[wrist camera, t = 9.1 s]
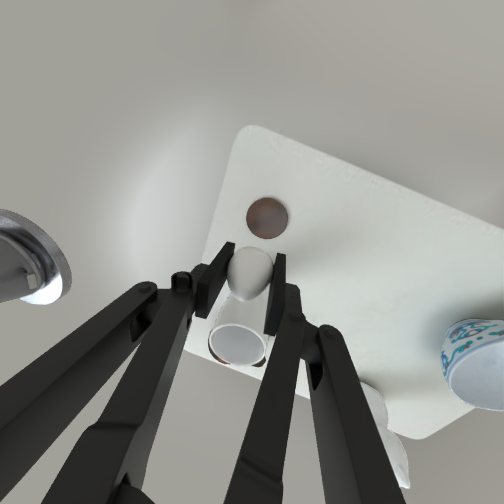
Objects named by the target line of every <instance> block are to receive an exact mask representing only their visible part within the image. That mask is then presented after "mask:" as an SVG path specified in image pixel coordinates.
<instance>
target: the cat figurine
mask: <svg viewBox="0 0 504 504" xmlns="http://www.w3.org/2000/svg"><path fill="white" fill-rule="evenodd" d="M360 383H361V386H362V389H363V391H364V394H365V397H366V399H367V402H368V404H369V407H370V410H371V412H372V415H373V418H374V420H375V423H376V426H377V428H378V431H379V434H380V436H381V439H382V442H383V444H384V447H385V449H386V452H387V455H388V457H389V460H390V463H391V465H392V468H393V471H394V473H395V476H396V479H397V481H398V484H399V487H401V486H402V487H404V488H407V489H408V488H410V480H409V477H408V473H409V469H408V460H407V455H406V452H405V449H404V447H403V445H402V443H401V441H400V440H399V438H398V437H397V436H396V435H395V434H394V433H393V432H392V431H390V430H389V429H387V425H388V413H387V409H386V405H385V403H384V400H383V398H382V396H381V395H380V394H379V392H378V391H377V390H375V389H374V388H372V387H371V386H369V385H367V384H365V383H363V382H360Z"/></svg>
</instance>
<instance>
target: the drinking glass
mask: <svg viewBox="0 0 504 504" xmlns="http://www.w3.org/2000/svg"><path fill="white" fill-rule="evenodd" d="M269 287H270V283H269V285H268V286H267V288H266V289H265V290H264V291H263V292H262V293H261V294H260V295H259V296H257V297H256V298H255V299H253V300H251V301H248V302H242V301H239V300H237V299H236V298H235V297H234V296H233V294H232V293H231V292H230V294H229V296H228V297H227V299H226V301H225V302H224V304H223V306H222V308H221V310H220V312H219V314H218V316H217V318H216V320H215V323H214V326H213V328H212V331H211V334H210V337H209V343H210V347H211V349H212V351H213V352H214V353H215V354H216V355H217V356H218V357H219V358H220V359H222V360H223V361H225V362H227V363H230V364H233V365H237V366H250V365H254V364H256V363H258V362H260V361H261V360H262V359H263V358H264V356H265V354H266V351H267V345H268V338H269V335H266V334H263V331H264V324H265V317H266V309H267V302H268V294H269Z"/></svg>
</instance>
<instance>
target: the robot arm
mask: <svg viewBox="0 0 504 504" xmlns="http://www.w3.org/2000/svg"><path fill="white" fill-rule="evenodd" d="M234 249H235V243H232V242H226V244H225V245H224V246H223V248H222V249H221V250H220V252H219V253H218V254H217V256H216V257H215V258H214V260H213V261H212V262H211V264H210V265H206V264H202V263H201V264H199V265H197V266H196V267H195V268H194V269H193V270H192V271H191V272H190V273H189V272H183V271H181V272H177V273H174V274H173V275H172V276H171V289H157V285H156V284H155V283H153V282H149V281H147V282H141V283H138V284H136V285H134V286H133V287H132V288H130V289H129V290H128V291H126V292H125V293H124V294H122V295H121V296H120V297H119V298H117V299H116V300H114V301H113V302H112V303H110V304H109V305H108V306H106V307H105V308H104V309H103V310H101V311H100V312H99V313H97V314H96V315H94V316H93V317H92V318H90V319H89V320H88V321H86V322H85V323H84V324H83V325H81V326H80V327H79V328H77V329H76V330H75V331H73V332H72V333H71V334H69V335H68V336H67V337H65V338H64V339H63V340H61V341H60V342H59V343H57V344H56V345H55V346H53V347H52V348H51V349H49V350H48V351H47V352H45V353H44V354H43V355H41V356H40V357H39V358H37V359H36V360H35V361H33V362H32V363H31V364H29V365H28V366H27V367H25V368H24V369H23V370H21V371H20V372H19V373H17V374H16V375H15V376H13V377H12V378H11V379H9V380H8V381H7V382H5V383H4V384H3V385H1V386H0V502H1V501H2V500H3V498H4V497H5V496H6V495H7V494H8V493H9V492H10V491H11V490H12V489H13V488H14V487H15V485H16V484H17V483H18V482H19V481H20V480H21V479H22V478H23V476H24V475H25V474H26V473H27V472H28V471H29V470H30V469H31V467H32V466H33V465H34V464H35V463H36V462H37V461H38V459H39V458H40V457H41V456H42V455H43V454H44V452H45V451H46V450H47V449H48V448H49V447H50V446H51V445H52V443H53V442H54V441H55V440H56V439H57V438H58V436H59V435H60V434H61V433H62V432H63V431H64V430H65V428H66V427H67V426H68V425H69V424H70V422H72V420H73V419H74V418H75V417H76V416H77V415H78V414H79V412H80V411H81V410H82V409H83V408H84V407H85V406H86V404H87V403H88V402H89V401H90V400H91V399H92V398H93V396H94V395H95V394H96V393H97V392H98V391H99V390H100V388H101V387H102V386H103V385H104V384H105V383H106V382H107V380H108V379H109V378H110V377H111V376H112V375H113V373H114V372H115V371H116V370H117V369H118V368H119V367H120V365H121V364H122V363H123V362H124V361H125V360H126V359H127V357H128V356H129V355H130V354H131V353H132V352H133V351H134V349H135V348H136V347H137V346H138V345H139V344H140V343H141V344H140V345H139V347H138V349H137V351H136V353H135V354H134V356H133V358H132V360H131V362H130V363H129V365H128V367H127V369H126V371H125V373H124V374H123V376H122V378H121V380H120V382H119V383H118V386H117V387H116V389H115V391H114V393H113V394H112V396H111V398H110V400H109V402H108V403H107V405H106V407H105V409H104V411H103V413H102V414H101V416H100V418H99V419H98V421H97V422H96V423H95V424H93V425H91V426H89V427H88V428H87V429H86V430H85V431H84V432H83V433H82V435H81V437H80V438H79V439H78V441H77V443H76V444H75V446H74V448H73V450H72V451H71V453H70V455H69V456H68V458H67V460H66V462H65V463H64V465H63V467H62V468H61V470H60V472H59V473H58V475H57V477H56V479H55V480H54V482H53V484H52V485H51V487H50V489H49V491H48V492H47V494H46V496H45V497H44V499H43V501H42V503H41V504H155V503H154V502H153V501H152V500H151V499H150V498H148V497H147V496H146V495H145V494H144V493H143V492H142V491H141V489H142V485H143V481H144V477H145V472H146V467H147V462H148V458H149V454H150V451H151V448H152V445H153V441H154V439H155V435H156V432H157V429H158V426H159V423H160V420H161V416H162V413H163V410H164V407H165V404H166V401H167V398H168V394H169V391H170V388H171V385H172V382H173V378H174V376H175V372H176V369H177V366H178V363H179V359H180V357H181V354H182V350H183V347H184V344H185V341H186V338H187V335H188V332H189V328H190V325H191V322H192V315H193V313H194V312H195V316H196V317H200V318H204V319H206V318H207V316H208V315H209V313H210V311H211V309H212V307H213V305H214V303H215V301H216V299H217V297H218V295H219V293H220V291H221V289H222V287H223V285H224V283H225V281H226V279H227V268H228V264H229V262H230V259H231V258H232V256H233V255H234ZM45 282H46V276H45V272H44V269H43V267H42V265H41V263H40V261H39V260H38V258H37V257H36V256H35V254H34V253H33V252H32V251H31V250H30V249H29V248H28V247H27V246H26V245H25V244H23V243H22V242H21V241H19V240H18V239H17V238H15V237H13V236H11V235H9V234H7V233H5V232H2V231H0V303H1V302H5V301H9V300H13V299H17V298H21V297H25V296H29V295H31V294H33V293H35V292H37V291H39V290H41V289H42V288H43V287H44V285H45ZM263 334H266V335H270V336H274V337H275V335H276V339H275V342H274V345H273V348H272V351H271V354H270V357H269V361H268V364H267V367H266V370H265V373H264V376H263V380H262V383H261V386H260V389H259V392H258V396H257V399H256V402H255V405H254V408H253V412H252V414H251V418H250V421H249V424H248V427H247V431H246V434H245V437H244V440H243V443H242V446H241V449H240V452H239V456H238V459H237V462H236V465H235V469H234V472H233V475H232V478H231V481H230V484H229V487H228V490H227V494H226V497H225V500H224V503H223V504H282V498H283V482H282V474H283V467H284V460H285V454H286V447H287V440H288V434H289V428H290V421H291V414H292V408H293V401H294V395H295V388H296V382H297V375H298V369H299V362H300V358H301V359H303V360H305V364H306V371H307V378H308V385H309V392H310V399H311V405H312V412H313V419H314V426H315V433H316V440H317V447H318V454H319V461H320V467H321V474H322V482H323V489H324V495H325V502H326V504H406V502H405V500H404V497H403V494H402V492H401V489H400V487H399V484H398V481H397V479H396V476H395V473H394V471H393V468H392V465H391V463H390V460H389V457H388V455H387V452H386V449H385V447H384V444H383V442H382V439H381V436H380V434H379V431H378V428H377V426H376V423H375V420H374V418H373V415H372V412H371V410H370V407H369V404H368V402H367V399H366V397H365V394H364V391H363V389H362V386H361V383H360V381H359V378H358V375H357V373H356V370H355V367H354V365H353V362H352V359H351V357H350V354H349V352H348V349H347V346H346V344H345V341H344V338H343V336H342V334H341V333H340V332H339V331H338V330H337V329H336V328H334V327H333V326H330V325H321V326H320V327H319V328H318V327H316V326H314V325H312V324H311V323H309V322H308V321H307V320H306V317H305V316H304V314H303V313H302V307H301V297H300V290H299V288H298V287H297V285H293V284H289V283H286V255H285V254H280V253H277V256H276V260H275V264H274V272H273V276H272V279H271V281H270V287H269V294H268V302H267V309H266V317H265V324H264V331H263ZM141 341H142V342H141Z"/></svg>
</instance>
